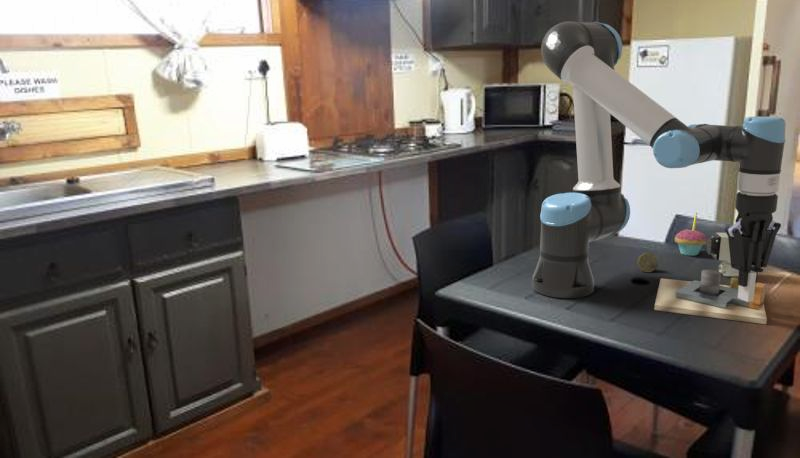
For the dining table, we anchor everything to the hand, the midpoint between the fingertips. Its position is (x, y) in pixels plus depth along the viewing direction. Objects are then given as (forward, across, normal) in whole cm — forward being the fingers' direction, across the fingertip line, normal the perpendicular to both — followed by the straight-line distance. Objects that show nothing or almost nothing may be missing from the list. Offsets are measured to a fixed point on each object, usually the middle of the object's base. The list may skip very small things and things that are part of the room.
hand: (745, 299), depth 134 cm
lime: (+4, +3, +34) cm, 34 cm away
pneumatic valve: (+4, +20, +23) cm, 31 cm away
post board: (+4, 0, +10) cm, 11 cm away
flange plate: (+3, +1, +8) cm, 8 cm away
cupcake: (+4, +25, +42) cm, 49 cm away
